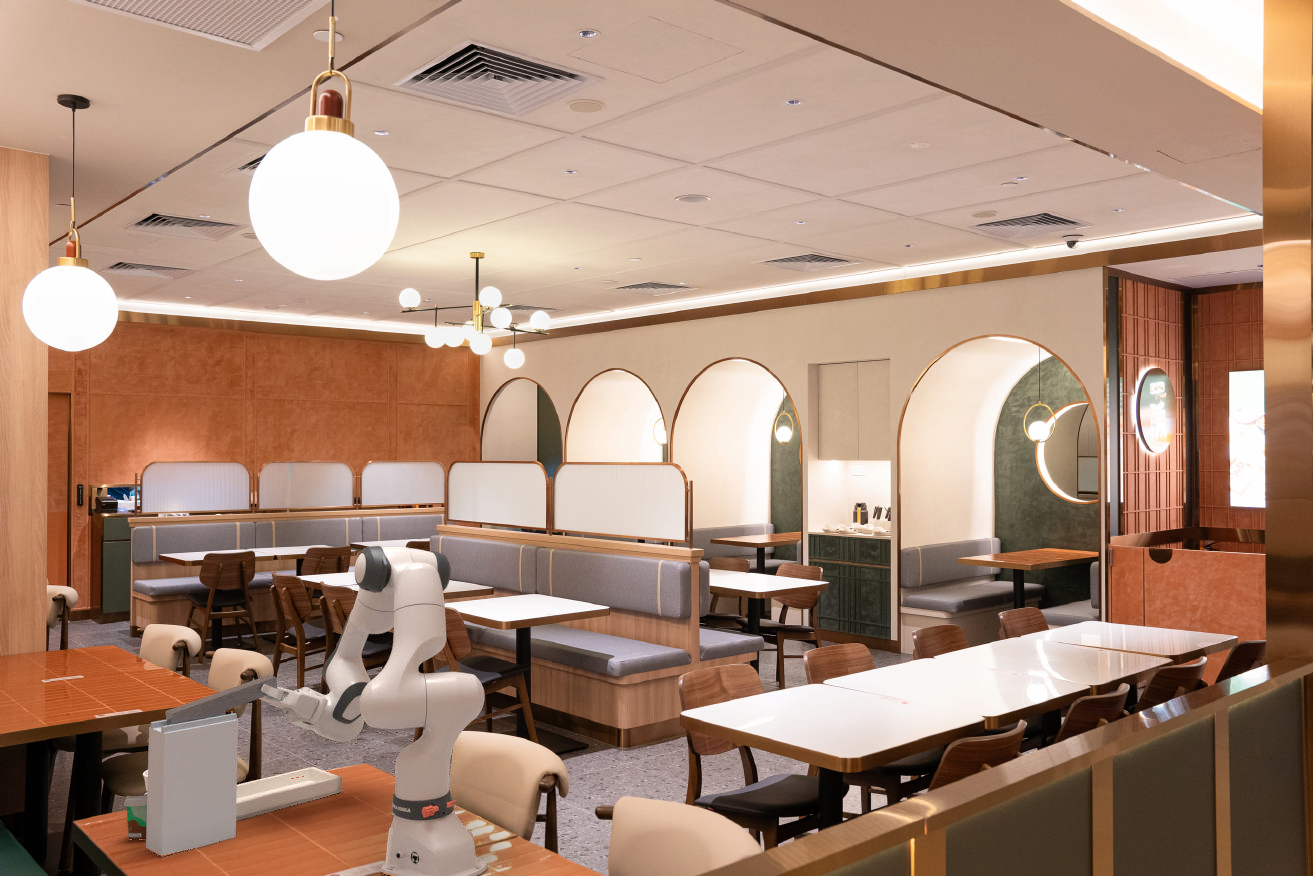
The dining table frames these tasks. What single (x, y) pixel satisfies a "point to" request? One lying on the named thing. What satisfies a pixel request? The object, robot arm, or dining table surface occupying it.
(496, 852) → the dining table surface
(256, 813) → the tray
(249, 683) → the dark gray bar
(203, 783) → the channel block
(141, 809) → the food container
